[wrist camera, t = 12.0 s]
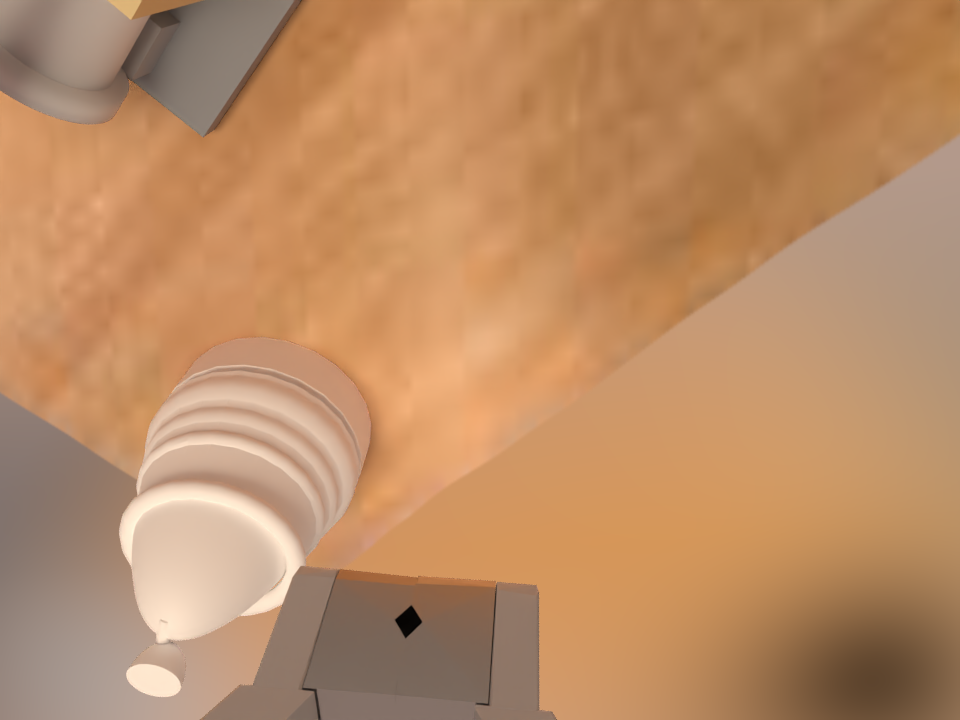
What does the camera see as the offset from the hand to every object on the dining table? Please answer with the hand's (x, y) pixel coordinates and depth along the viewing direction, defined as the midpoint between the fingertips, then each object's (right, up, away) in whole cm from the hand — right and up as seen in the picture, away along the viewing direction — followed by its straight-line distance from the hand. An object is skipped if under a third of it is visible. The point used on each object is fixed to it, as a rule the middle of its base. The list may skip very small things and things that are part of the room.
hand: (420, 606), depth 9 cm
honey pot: (-13, -1, +39) cm, 41 cm away
